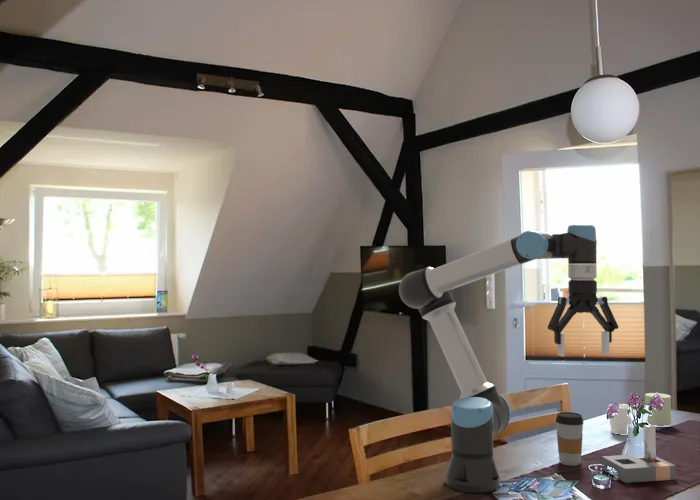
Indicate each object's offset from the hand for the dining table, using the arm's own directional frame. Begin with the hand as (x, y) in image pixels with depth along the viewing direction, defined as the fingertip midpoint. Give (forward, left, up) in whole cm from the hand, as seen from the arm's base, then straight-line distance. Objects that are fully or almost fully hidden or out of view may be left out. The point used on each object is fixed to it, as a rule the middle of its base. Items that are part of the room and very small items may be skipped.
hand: (583, 355), depth 181 cm
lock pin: (+25, +7, -37) cm, 45 cm away
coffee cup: (+7, +21, -37) cm, 43 cm away
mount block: (+21, +7, -37) cm, 43 cm away
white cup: (+43, +50, -37) cm, 76 cm away
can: (+64, +58, -37) cm, 94 cm away
